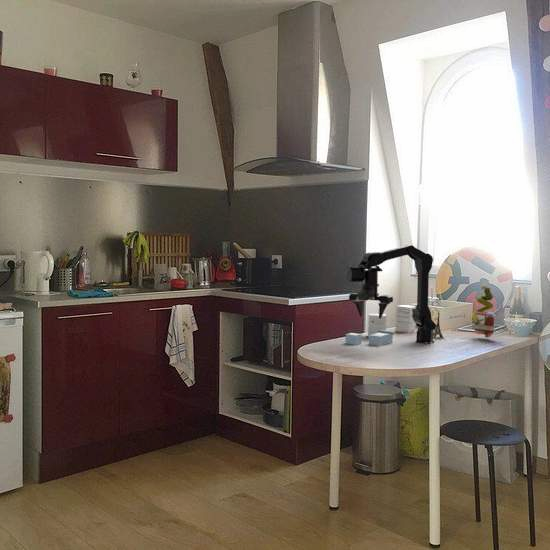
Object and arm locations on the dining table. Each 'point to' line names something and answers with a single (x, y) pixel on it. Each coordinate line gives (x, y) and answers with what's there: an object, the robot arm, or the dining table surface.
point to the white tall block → (405, 319)
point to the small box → (376, 323)
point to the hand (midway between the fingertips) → (370, 317)
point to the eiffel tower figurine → (438, 332)
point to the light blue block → (353, 338)
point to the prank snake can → (484, 314)
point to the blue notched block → (381, 338)
